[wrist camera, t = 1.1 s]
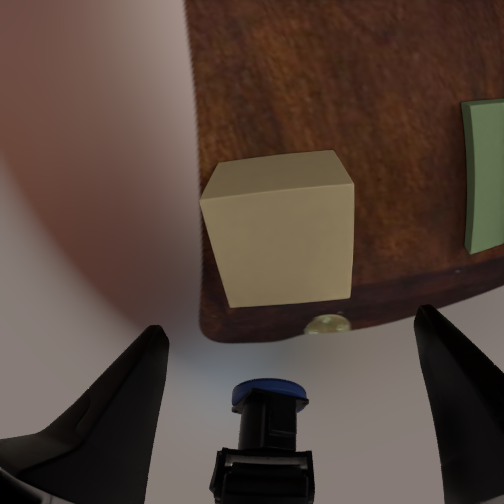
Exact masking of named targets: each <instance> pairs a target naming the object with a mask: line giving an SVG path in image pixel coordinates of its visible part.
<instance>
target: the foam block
mask: <svg viewBox="0 0 504 504" xmlns="http://www.w3.org/2000/svg"><path fill="white" fill-rule="evenodd" d="M199 203H200V206H201V210H202V213H203V217H204V221H205V224H206V228H207V231H208V235H209V238H210V242H211V245H212V249H213V252H214V256H215V259H216V263H217V266H218V269H219V273H220V276H221V279H222V283H223V286H224V289H225V293H226V296H227V299H228V302H229V306H230V307H231V308H233V307H251V306H266V305H280V304H292V303H304V302H316V301H326V300H336V299H346V298H350V292H351V278H352V262H353V239H354V183H353V182H352V180H351V178H350V177H349V175H348V173H347V171H346V170H345V168H344V167H343V165H342V163H341V162H340V160H339V158H338V157H337V155H336V154H335V152H334V150H325V151H312V152H301V153H291V154H281V155H273V156H264V157H256V158H249V159H241V160H234V161H228V162H221V163H218V165H217V166H216V168H215V170H214V172H213V174H212V176H211V178H210V180H209V182H208V184H207V186H206V188H205V190H204V192H203V194H202V196H201V198H200V200H199Z"/></svg>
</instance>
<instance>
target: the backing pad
mask: <svg viewBox="0 0 504 504" xmlns="http://www.w3.org/2000/svg"><path fill="white" fill-rule="evenodd" d="M461 108H462V115H463V123H464V133H465V145H466V162H467V215H466V233H465V245H464V246H465V248H466V249H467V251H468V252H469V253H470V254H474V253H477V252H480V251H483V250H486V249H489V248H492V247H494V246H497V245H500V244H503V243H504V98H503V99H489V100H478V101H468V102H461Z"/></svg>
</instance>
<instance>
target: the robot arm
mask: <svg viewBox="0 0 504 504" xmlns="http://www.w3.org/2000/svg"><path fill="white" fill-rule="evenodd" d="M414 331H415V336H416V341H417V347H418V353H419V359H420V365H421V369H422V373H423V377H424V380H425V385H426V389H427V393H428V398H429V402H430V406H431V411H432V415H433V421H434V426H435V431H436V437H437V443H438V449H439V454H440V462H441V471H442V479H443V489H444V501H445V504H504V373H503V372H502V371H501V370H500V369H499V368H498V367H497V366H496V365H494V363H493V362H492V361H491V360H490V359H489V358H488V357H487V356H486V355H485V354H484V353H483V352H482V351H481V350H480V349H479V348H478V347H477V346H476V345H475V344H474V343H472V342H471V341H470V340H469V339H468V338H467V337H466V336H465V335H464V334H463V333H462V332H461V331H460V330H459V329H457V328H456V327H455V326H454V325H453V324H452V323H451V322H450V321H449V320H448V319H447V318H445V317H444V316H443V315H442V314H441V313H440V312H439V311H438V310H436V309H435V308H434V307H433V306H432V305H430V304H426V305H421V306H419V308H418V310H417V314H416V317H415V320H414ZM168 353H169V339H168V337H167V336H166V334H165V332H164V330H163V328H162V327H161V326H160V325H150V326H149V327H147V328H146V329H145V330H144V331H143V333H141V334H140V336H138V338H137V339H136V340H135V341H134V342H133V343H132V344H131V345H130V346H129V347H128V348H127V349H126V350H125V351H124V352H123V353H122V354H121V355H120V356H119V357H118V358H117V359H116V360H115V361H114V362H113V363H112V364H111V365H110V366H109V368H107V369H106V371H105V372H104V373H103V374H102V375H101V376H100V377H99V378H98V379H97V380H96V381H95V382H94V383H93V384H92V385H91V386H90V388H89V389H87V390H86V391H85V393H83V395H82V396H81V397H80V398H79V399H78V400H77V401H76V402H75V403H74V404H73V405H71V407H69V408H68V409H67V410H66V411H65V412H64V413H63V414H61V415H60V416H59V417H58V418H57V419H56V420H55V421H53V422H52V423H51V424H50V425H49V426H48V427H46V428H45V429H44V430H42V431H40V432H38V433H36V434H31V435H25V436H19V437H13V438H7V439H0V467H1V468H0V504H144V501H145V494H146V486H147V481H148V477H147V476H148V473H149V466H150V461H151V455H152V448H153V443H154V438H155V432H156V427H157V421H158V416H159V411H160V406H161V401H162V396H163V391H164V386H165V381H166V372H167V362H168ZM307 404H309V400H308V399H307V398H302V397H296V396H291V395H286V394H282V393H277V392H272V391H268V390H263V389H259V388H252V389H250V390H249V391H248V392H247V393H246V394H245V395H244V396H243V397H242V398H241V399H240V400H239V401H238V402H237V403H236V404H235V405H234V406H233V407H232V412H234V413H238V414H241V424H240V433H239V443H238V450H237V449H228V448H224V447H223V448H222V450H221V451H217V457H216V464H215V468H214V472H213V476H212V479H211V483H210V487H209V489H210V491H211V492H212V493H213V494H214V498H215V504H313V502H314V495H315V483H314V471H313V460H312V451H304V452H295V451H296V434H297V412H298V411H299V410H301V409H302V408H303V407H305V406H306V405H307ZM231 463H232V464H233V465H232V466H230V464H231Z"/></svg>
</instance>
